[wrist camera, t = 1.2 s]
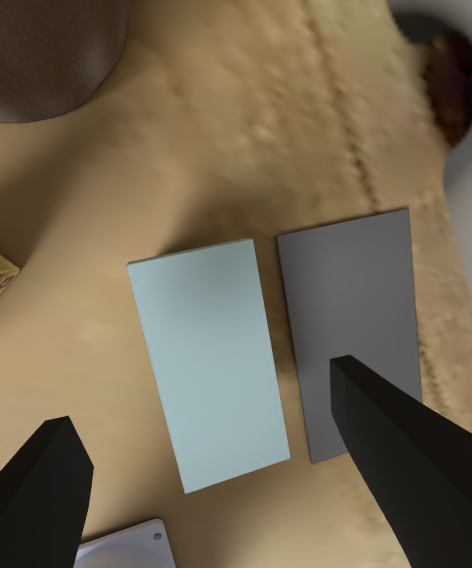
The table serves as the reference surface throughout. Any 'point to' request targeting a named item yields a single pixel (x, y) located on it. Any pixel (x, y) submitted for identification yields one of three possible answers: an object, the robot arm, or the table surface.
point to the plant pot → (56, 54)
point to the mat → (349, 312)
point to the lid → (212, 360)
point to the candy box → (7, 272)
